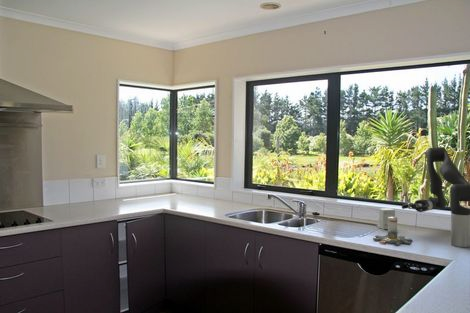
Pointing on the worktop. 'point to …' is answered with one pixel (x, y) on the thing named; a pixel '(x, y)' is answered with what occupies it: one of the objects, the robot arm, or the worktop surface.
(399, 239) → the sprocket plate
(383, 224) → the small box
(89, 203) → the worktop surface
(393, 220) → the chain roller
